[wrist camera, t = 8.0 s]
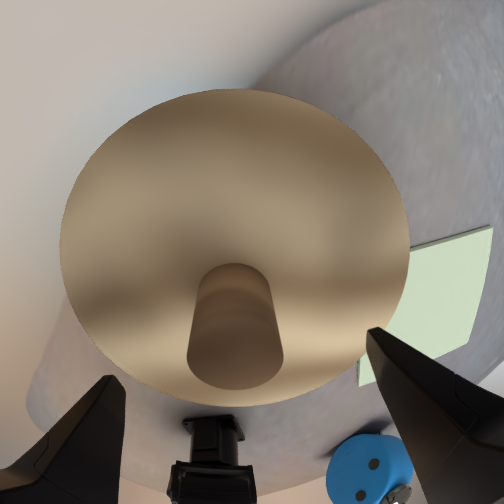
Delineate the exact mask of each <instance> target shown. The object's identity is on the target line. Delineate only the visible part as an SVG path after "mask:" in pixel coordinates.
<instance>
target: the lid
mask: <svg viewBox="0 0 504 504" xmlns="http://www.w3.org/2000/svg"><path fill="white" fill-rule="evenodd" d="M409 259H410V235H409V228H408V222H407V216H406V212H405V209H404V206H403V203H402V200H401V197H400V194H399V191H398V189H397V187H396V185H395V183H394V181H393V179H392V177H391V175H390V173H389V171H388V170H387V168H386V167H385V166H384V164H383V163H382V161H381V160H380V159H379V157H378V156H377V155H376V153H375V152H374V151H373V149H372V148H371V147H370V146H369V145H368V144H367V143H366V142H365V141H364V140H363V139H362V138H361V137H360V136H359V135H357V134H356V133H355V132H354V131H353V130H352V129H350V128H349V127H348V126H346V125H345V124H343V123H342V122H341V121H339V120H338V119H336V118H335V117H334V116H332V115H330V114H328V113H326V112H325V111H323V110H321V109H319V108H317V107H314V106H312V105H310V104H308V103H306V102H304V101H301V100H297V99H294V98H291V97H288V96H284V95H281V94H278V93H272V92H266V91H259V90H251V89H216V90H209V91H203V92H198V93H193V94H188V95H183V96H180V97H178V98H175V99H172V100H169V101H166V102H164V103H161V104H159V105H156V106H154V107H152V108H150V109H148V110H147V111H145V112H143V113H141V114H140V115H138V116H136V117H134V118H133V119H131V120H129V121H128V122H127V123H126V124H124V125H123V126H122V127H120V128H119V129H118V130H117V131H116V132H114V133H113V134H112V135H111V136H109V137H108V138H107V139H106V141H105V142H104V143H103V144H102V145H101V146H100V147H99V148H98V149H97V150H96V152H95V153H94V154H93V155H92V156H91V158H90V159H89V160H88V162H87V163H86V165H85V167H84V168H83V170H82V171H81V173H80V175H79V176H78V178H77V180H76V182H75V184H74V186H73V189H72V191H71V193H70V196H69V198H68V201H67V204H66V208H65V212H64V216H63V220H62V226H61V234H60V263H61V270H62V276H63V280H64V285H65V288H66V292H67V295H68V298H69V300H70V303H71V305H72V308H73V310H74V312H75V314H76V316H77V318H78V320H79V322H80V323H81V325H82V326H83V328H84V329H85V331H86V332H87V334H88V335H89V337H90V338H91V339H92V341H93V342H94V343H95V344H96V345H97V347H98V348H99V349H100V350H101V351H102V352H103V353H104V354H105V355H106V356H107V357H108V358H109V359H110V360H111V361H112V362H113V363H114V364H116V365H117V366H118V367H119V368H121V369H122V370H123V371H125V372H126V373H127V374H129V375H130V376H132V377H133V378H135V379H137V380H138V381H140V382H142V383H143V384H145V385H147V386H149V387H151V388H153V389H155V390H157V391H159V392H162V393H164V394H167V395H170V396H173V397H176V398H178V399H182V400H186V401H190V402H194V403H199V404H206V405H212V406H226V407H242V406H255V405H263V404H269V403H274V402H279V401H283V400H286V399H290V398H293V397H296V396H299V395H302V394H304V393H307V392H309V391H311V390H314V389H316V388H318V387H320V386H322V385H324V384H325V383H327V382H329V381H331V380H333V379H334V378H336V377H337V376H339V375H340V374H341V373H343V372H344V371H346V370H347V369H349V368H350V367H351V366H352V365H353V364H354V363H356V362H357V361H358V360H359V359H360V358H361V357H362V356H363V355H364V354H365V353H366V332H367V330H368V329H371V328H374V327H380V328H382V329H384V330H385V329H386V327H387V325H388V324H389V322H390V320H391V318H392V317H393V315H394V313H395V311H396V309H397V306H398V304H399V301H400V299H401V296H402V294H403V290H404V286H405V283H406V279H407V274H408V267H409Z"/></svg>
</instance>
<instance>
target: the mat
mask: <svg viewBox="0 0 504 504" xmlns="http://www.w3.org/2000/svg"><path fill="white" fill-rule="evenodd" d="M492 234H493V227H492V226H490V225H489V226H486V227H482V228H479V229H476V230H472V231H469V232H466V233H462V234H459V235H455V236H452V237H448V238H445V239H441V240H438V241H434V242H431V243H427V244H423V245H420V246H416V247H412V248H410V259H409V267H408V274H407V279H406V283H405V286H404V290H403V294H402V296H401V299H400V301H399V304H398V306H397V309H396V311H395V313H394V315H393V317H392V318H391V320H390V322H389V324H388V325H387V327H386V329H385V331H387V332H389V333H390V334H392V335H394V336H395V337H397V338H399V339H400V340H402V341H403V342H405V343H407V344H408V345H410V346H412V347H413V348H415V349H417V350H418V351H420V352H422V353H423V354H425V355H427V356H428V357H430V358H431V359H434V358H437V357H439V356H441V355H443V354H445V353H448V352H450V351H452V350H454V349H456V348H458V347H460V346H462V345H464V344H466V343H467V342H468V339H469V336H470V333H471V330H472V327H473V324H474V320H475V317H476V313H477V310H478V306H479V302H480V298H481V294H482V290H483V286H484V281H485V276H486V271H487V266H488V261H489V255H490V248H491V241H492ZM375 381H376V379H375V376H374V373H373V370H372V367H371V364H370V361H369V358H368V355H367V352H366V353H365V354H364V355H363V356H362V357H361V358H360V359H359V360H358V377H357V384H358V386H362V385H365V384H368V383H372V382H375Z"/></svg>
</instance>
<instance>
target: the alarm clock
mask: <svg viewBox="0 0 504 504" xmlns="http://www.w3.org/2000/svg"><path fill="white" fill-rule="evenodd" d="M412 474H413V464H412V462H411V460H410V457H409V455H408V452H407V450H406V448H405V446H404V443H403V441H402V440H401V439H399V438H397V437H395V436H391V435H382V430H380V431H379V435H375V434H360V435H356V436H353V437H351V438H349V439H348V440H346V441H345V442H344V443H343V444H341V445H340V446H339V448H338V449H337V450H336V451H335V453H334V454H333V456H332V458H331V460H330V463H329V465H328V469H327V474H326V487H327V492H328V495H329V497H330V499H331V501H332V502H333V504H406V503H407V502H408V500H409V499H410V497H411V493H412V490H411V487H410V486H409V484H410V481H411V478H412Z"/></svg>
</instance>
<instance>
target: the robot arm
mask: <svg viewBox="0 0 504 504" xmlns="http://www.w3.org/2000/svg"><path fill="white" fill-rule="evenodd" d="M366 352H367V355H368V358H369V361H370V364H371V367H372V370H373V373H374V376H375V379H376V382H377V385H378V387H379V390H380V392H381V395H382V397H383V399H384V401H385V403H386V405H387V408H388V410H389V412H390V414H391V416H392V418H393V421H394V423H395V425H396V427H397V430H398V432H399V434H400V436H401V439H402V441H403V443H404V446H405V448H406V450H407V452H408V455H409V457H410V460H411V462H412V464H413V467H414V469H415V472H416V474H417V477H418V479H419V481H420V484H421V487H422V489H423V492H424V495H425V497H426V500H427V502H428V504H504V398H503V397H500V396H498V395H496V394H494V393H492V392H489V391H487V390H485V389H483V388H481V387H479V386H477V385H475V384H473V383H472V382H470V381H468V380H466V379H465V378H463V377H461V376H460V375H458V374H455V373H454V372H453V371H451V370H450V369H448V368H446V367H445V366H443V365H441V364H440V363H438V362H436V361H435V360H433V359H431V358H430V357H428V356H427V355H425V354H423V353H422V352H420V351H418V350H417V349H415V348H413V347H412V346H410V345H408V344H407V343H405V342H403V341H402V340H400V339H399V338H397V337H395V336H394V335H392V334H390V333H389V332H387V331H385V330H384V329H382V328H380V327H374V328H371V329H368V330H367V332H366ZM125 401H126V392H125V389H124V387H123V386H122V385H121V383H120V382H119V381H118V379H117V378H116V377H115V376H114V375H104V376H103V377H102V378H101V379H100V380H99V381H98V382H97V383H96V384H95V385H94V386H93V387H92V388H91V389H90V390H89V391H88V392H87V393H86V394H85V395H84V396H83V397H82V398H81V399H80V400H79V401H78V402H77V403H76V404H75V405H74V406H73V407H72V408H71V409H70V410H69V411H68V412H67V413H66V414H65V415H64V416H63V417H62V418H61V419H60V420H59V421H58V422H57V423H56V424H55V425H54V426H53V427H52V428H51V429H50V430H49V432H47V433H46V434H45V435H44V436H43V437H42V438H41V439H40V440H39V441H38V442H37V443H36V444H35V445H34V446H33V447H32V448H31V449H29V451H27V452H26V453H25V454H24V455H23V456H21V457H20V458H19V459H18V460H17V461H16V462H15V463H13V464H12V465H11V466H9V467H7V468H5V469H0V504H118V491H119V478H120V466H121V455H122V446H123V437H124V428H125ZM182 425H183V426H184V427H185V428H186V430H187V431H188V432H189V433H190V434H191V447H190V460H189V462H181V461H177V460H176V464H175V465H172V467H171V476H170V480H169V484H168V488H167V495H168V496H169V497H170V499H171V502H172V504H257V494H256V486H255V480H254V474H253V467H252V465H247V466H238V443H237V442H239V441H244V440H245V436H244V435H243V433H242V431H241V429H240V427H239V426H238V424H237V422H236V420H235V418H234V417H233V416H231V415H227V416H218V417H209V418H198V419H184V420H182Z"/></svg>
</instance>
